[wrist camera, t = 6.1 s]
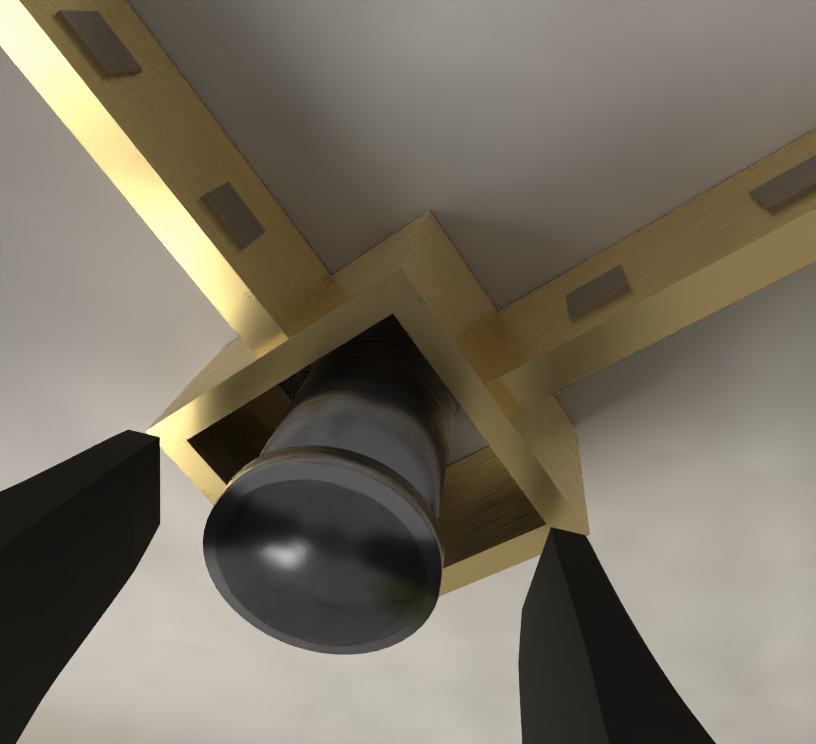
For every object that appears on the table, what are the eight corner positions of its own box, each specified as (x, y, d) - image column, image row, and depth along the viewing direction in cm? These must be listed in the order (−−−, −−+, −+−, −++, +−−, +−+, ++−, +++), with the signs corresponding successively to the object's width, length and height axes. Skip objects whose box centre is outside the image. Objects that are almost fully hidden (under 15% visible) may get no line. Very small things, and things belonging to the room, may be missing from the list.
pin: (390, 457, 18) (324, 684, 12) (286, 357, 17) (157, 547, 11) (501, 377, 17) (492, 591, 10) (394, 263, 16) (314, 421, 9)
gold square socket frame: (370, 525, 19) (336, 638, 16) (-15, 64, 15) (-181, 76, 11) (930, 258, 14) (1068, 337, 10) (575, -575, 10) (606, -919, 6)
